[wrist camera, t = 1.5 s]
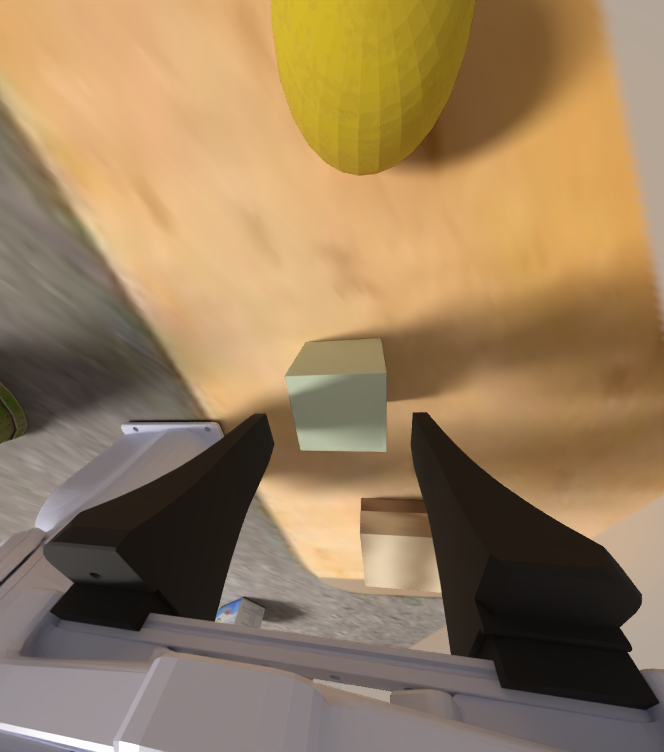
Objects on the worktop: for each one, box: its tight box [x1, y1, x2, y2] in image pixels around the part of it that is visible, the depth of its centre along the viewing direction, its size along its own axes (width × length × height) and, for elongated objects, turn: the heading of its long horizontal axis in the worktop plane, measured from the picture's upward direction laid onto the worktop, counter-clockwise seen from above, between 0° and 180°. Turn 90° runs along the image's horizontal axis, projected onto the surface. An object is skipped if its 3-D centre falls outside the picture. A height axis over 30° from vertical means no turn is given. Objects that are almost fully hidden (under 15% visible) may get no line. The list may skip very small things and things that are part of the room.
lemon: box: [272, 0, 476, 176], centre depth 8 cm, size 6×6×8 cm
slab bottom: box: [361, 498, 427, 514], centre depth 25 cm, size 9×9×2 cm
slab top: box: [360, 511, 442, 593], centre depth 23 cm, size 9×9×2 cm
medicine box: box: [215, 597, 265, 628], centre depth 36 cm, size 8×4×9 cm, turn 138°
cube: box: [285, 338, 387, 452], centre depth 15 cm, size 5×5×5 cm
